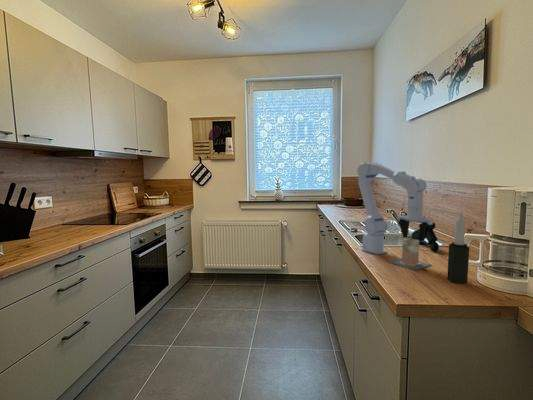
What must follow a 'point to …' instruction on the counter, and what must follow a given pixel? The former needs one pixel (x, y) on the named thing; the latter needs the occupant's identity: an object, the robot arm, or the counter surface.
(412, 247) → the block cream
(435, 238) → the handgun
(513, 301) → the counter surface
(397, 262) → the board
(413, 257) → the block brown
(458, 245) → the black and grey bottle
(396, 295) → the counter surface
